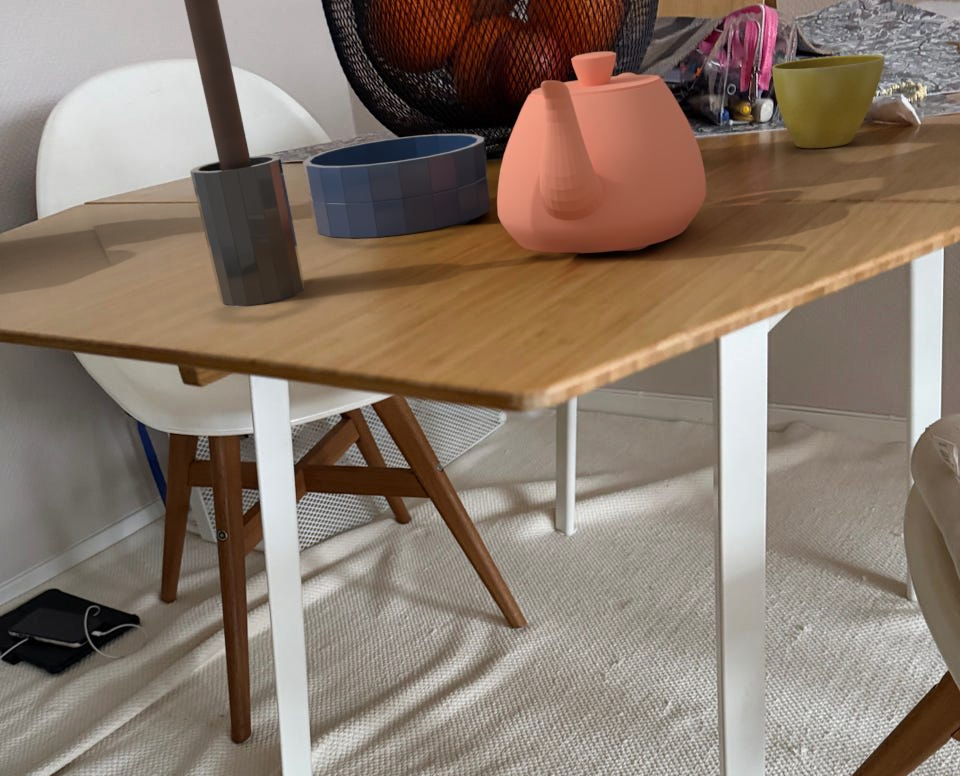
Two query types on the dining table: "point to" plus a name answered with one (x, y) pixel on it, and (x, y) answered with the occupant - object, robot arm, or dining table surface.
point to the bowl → (398, 185)
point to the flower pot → (826, 97)
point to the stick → (218, 83)
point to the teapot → (600, 163)
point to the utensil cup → (249, 231)
